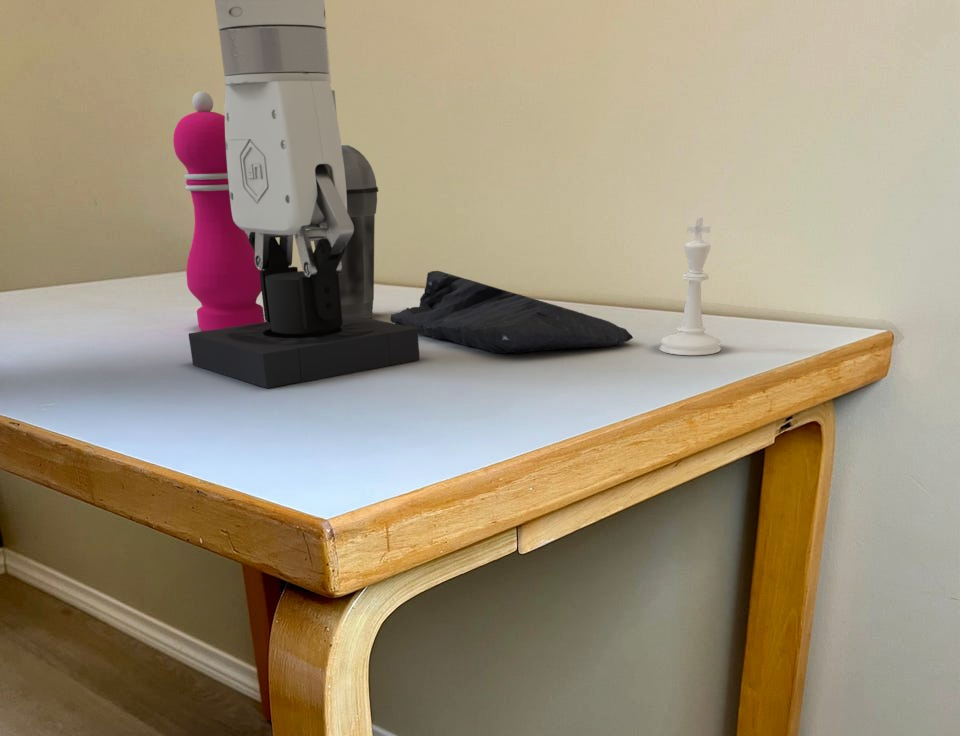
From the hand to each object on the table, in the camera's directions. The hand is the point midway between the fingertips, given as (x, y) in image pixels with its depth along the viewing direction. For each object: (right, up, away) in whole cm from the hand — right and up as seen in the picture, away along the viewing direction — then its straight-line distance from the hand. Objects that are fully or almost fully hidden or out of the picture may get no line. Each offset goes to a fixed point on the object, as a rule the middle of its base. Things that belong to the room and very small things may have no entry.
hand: (303, 322), depth 80 cm
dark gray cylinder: (0, 0, 0) cm, 0 cm away
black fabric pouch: (+16, +2, +10) cm, 19 cm away
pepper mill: (-10, +5, +17) cm, 21 cm away
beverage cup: (+1, +7, +21) cm, 22 cm away
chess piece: (+31, -2, +3) cm, 31 cm away
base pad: (0, -3, +1) cm, 3 cm away
